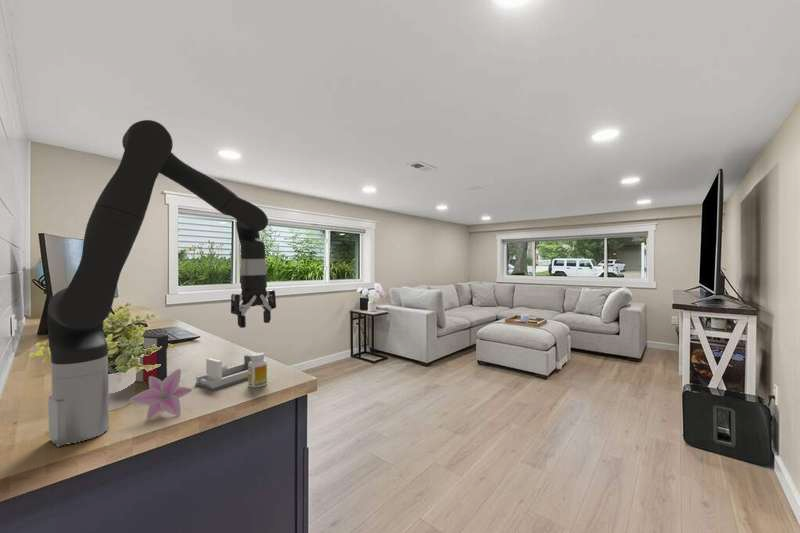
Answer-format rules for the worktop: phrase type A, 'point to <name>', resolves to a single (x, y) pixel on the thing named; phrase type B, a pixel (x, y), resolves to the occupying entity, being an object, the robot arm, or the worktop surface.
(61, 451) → the worktop surface
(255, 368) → the supplement bottle
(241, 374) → the pusher lane
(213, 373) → the spring paddle
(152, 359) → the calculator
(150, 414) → the lily
